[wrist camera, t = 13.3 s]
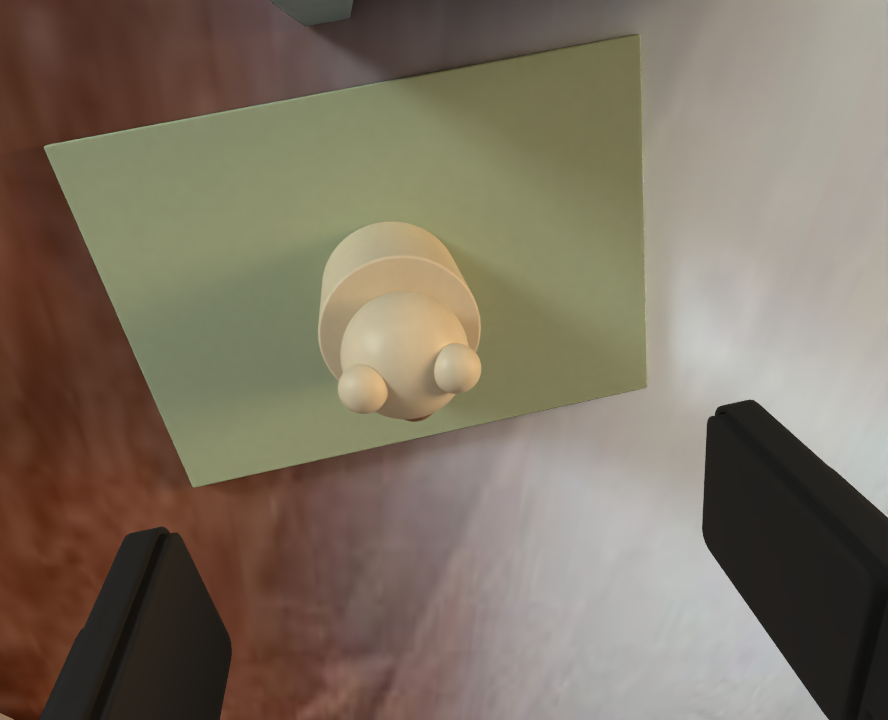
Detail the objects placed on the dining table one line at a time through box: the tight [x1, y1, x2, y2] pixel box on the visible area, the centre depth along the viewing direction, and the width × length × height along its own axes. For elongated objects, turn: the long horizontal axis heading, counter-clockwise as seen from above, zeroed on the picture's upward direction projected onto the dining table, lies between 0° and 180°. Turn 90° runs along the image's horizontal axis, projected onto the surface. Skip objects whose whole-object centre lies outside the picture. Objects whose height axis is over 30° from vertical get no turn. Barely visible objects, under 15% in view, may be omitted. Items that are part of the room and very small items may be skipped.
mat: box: [44, 34, 647, 488], centre depth 24 cm, size 20×14×1 cm
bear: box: [318, 222, 481, 422], centre depth 20 cm, size 5×6×8 cm
